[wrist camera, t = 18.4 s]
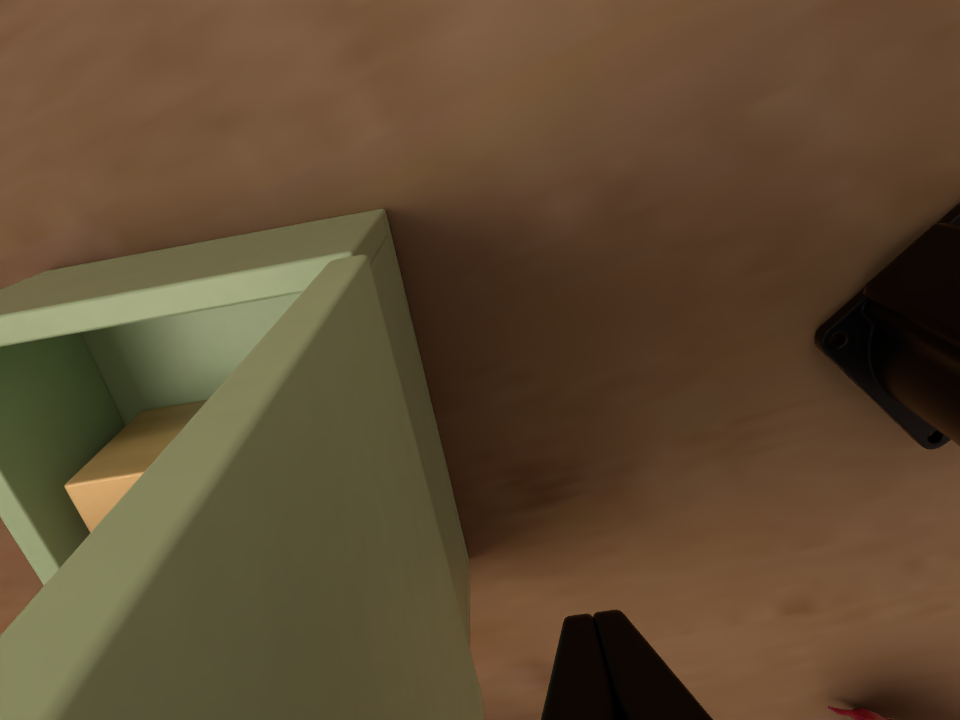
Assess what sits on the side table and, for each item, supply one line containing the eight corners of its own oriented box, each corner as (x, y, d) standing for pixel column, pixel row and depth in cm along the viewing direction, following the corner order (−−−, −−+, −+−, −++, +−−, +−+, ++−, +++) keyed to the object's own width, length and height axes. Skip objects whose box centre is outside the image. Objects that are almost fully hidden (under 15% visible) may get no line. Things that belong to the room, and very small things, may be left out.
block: (140, 410, 19) (61, 485, 15) (262, 389, 18) (211, 461, 15) (188, 510, 20) (127, 600, 17) (300, 492, 20) (263, 579, 16)
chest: (207, 600, 23) (137, 734, 18) (44, 270, 18) (-116, 336, 13) (469, 560, 22) (469, 688, 18) (385, 207, 17) (352, 250, 12)
